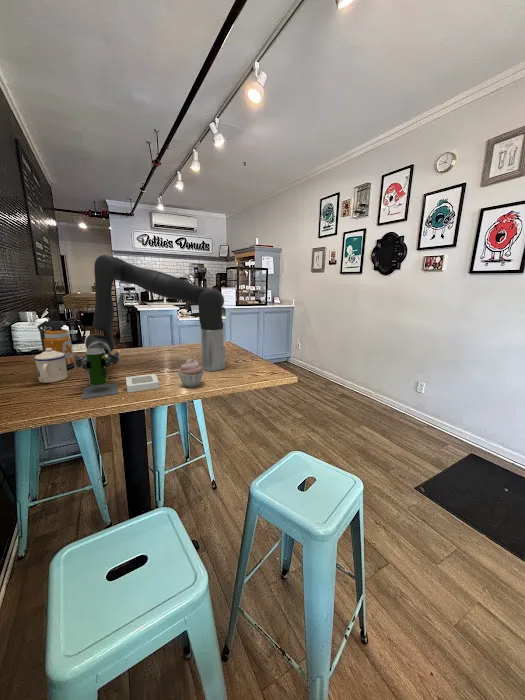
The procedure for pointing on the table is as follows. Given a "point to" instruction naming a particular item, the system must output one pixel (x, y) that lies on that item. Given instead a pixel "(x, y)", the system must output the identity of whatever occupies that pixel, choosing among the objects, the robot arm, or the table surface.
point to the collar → (142, 386)
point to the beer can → (97, 367)
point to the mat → (99, 391)
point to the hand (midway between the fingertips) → (96, 365)
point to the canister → (57, 340)
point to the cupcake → (191, 373)
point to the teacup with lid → (51, 366)
